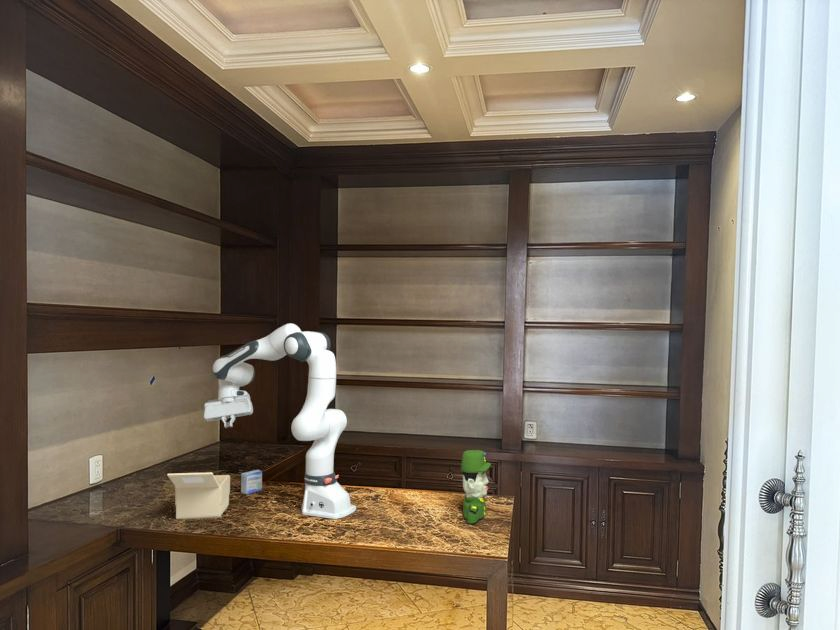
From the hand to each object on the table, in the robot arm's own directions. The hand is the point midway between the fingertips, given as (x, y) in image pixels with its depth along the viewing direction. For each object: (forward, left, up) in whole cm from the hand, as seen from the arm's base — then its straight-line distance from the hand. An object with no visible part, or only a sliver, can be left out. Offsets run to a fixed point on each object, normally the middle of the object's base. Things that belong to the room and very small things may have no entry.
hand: (228, 426), depth 224 cm
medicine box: (-3, -11, -30) cm, 32 cm away
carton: (-6, +16, -30) cm, 35 cm away
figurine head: (-99, -36, -30) cm, 110 cm away
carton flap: (-13, +26, -14) cm, 32 cm away
